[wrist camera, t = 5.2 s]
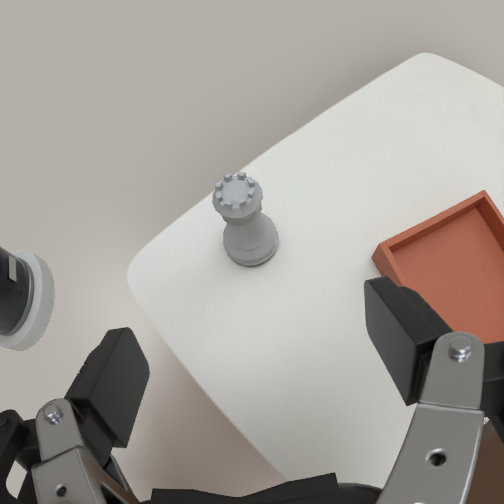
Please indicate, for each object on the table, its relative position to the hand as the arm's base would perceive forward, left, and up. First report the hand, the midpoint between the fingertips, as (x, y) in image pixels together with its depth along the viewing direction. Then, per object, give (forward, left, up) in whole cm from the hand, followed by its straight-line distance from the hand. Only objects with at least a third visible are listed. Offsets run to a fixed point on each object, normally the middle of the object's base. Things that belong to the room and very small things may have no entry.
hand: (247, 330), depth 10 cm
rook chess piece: (+2, +9, -14) cm, 17 cm away
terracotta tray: (+17, -3, -14) cm, 22 cm away
